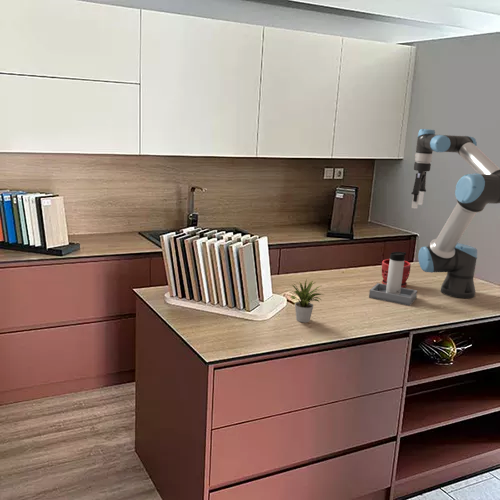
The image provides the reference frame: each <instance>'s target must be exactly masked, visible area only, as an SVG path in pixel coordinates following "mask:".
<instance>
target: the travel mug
mask: <svg viewBox="0 0 500 500" xmlns="http://www.w3.org/2000/svg"><path fill="white" fill-rule="evenodd" d="M405 255H407V253H406V252H405V251H404V252H403V251H392V252H390V255H389V259H390V261H389V270H388V278H387V287H386V293H391V294H396V295H400V292H401V284H402V276H403V268H404V261H405V258H406V257H405Z"/></svg>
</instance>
